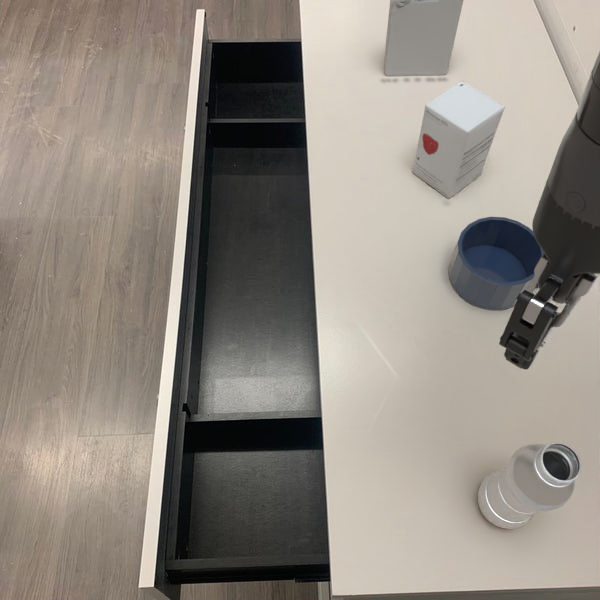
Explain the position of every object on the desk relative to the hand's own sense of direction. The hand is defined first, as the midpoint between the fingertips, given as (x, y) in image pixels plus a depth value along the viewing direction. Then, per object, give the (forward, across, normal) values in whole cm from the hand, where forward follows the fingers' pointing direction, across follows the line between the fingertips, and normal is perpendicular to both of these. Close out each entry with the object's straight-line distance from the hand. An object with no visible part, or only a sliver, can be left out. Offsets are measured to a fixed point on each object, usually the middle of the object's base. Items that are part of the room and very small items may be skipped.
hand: (541, 329), depth 47 cm
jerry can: (+20, +59, +54) cm, 82 cm away
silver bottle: (+30, -4, -5) cm, 30 cm away
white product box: (+23, +39, +31) cm, 55 cm away
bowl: (+26, +24, +14) cm, 38 cm away
